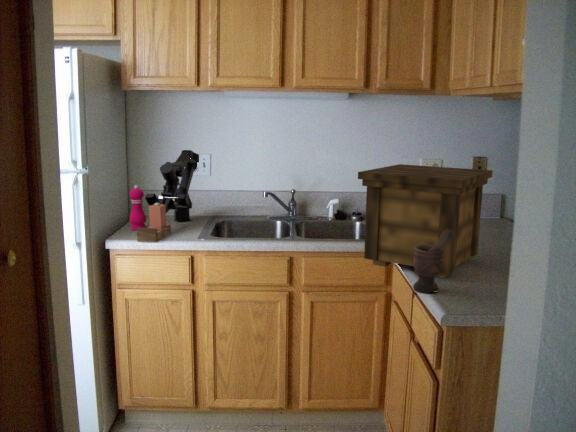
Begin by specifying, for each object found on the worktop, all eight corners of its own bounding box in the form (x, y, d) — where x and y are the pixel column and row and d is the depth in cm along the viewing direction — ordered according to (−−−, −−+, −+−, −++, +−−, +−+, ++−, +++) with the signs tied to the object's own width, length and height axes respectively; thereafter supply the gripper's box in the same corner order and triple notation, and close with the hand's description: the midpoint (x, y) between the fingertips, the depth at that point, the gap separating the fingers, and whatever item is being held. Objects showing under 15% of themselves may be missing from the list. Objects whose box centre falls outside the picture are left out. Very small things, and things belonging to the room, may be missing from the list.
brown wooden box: (153, 232, 229) (153, 219, 228) (171, 232, 228) (170, 220, 227) (137, 241, 213) (136, 228, 212) (156, 242, 212) (155, 229, 210)
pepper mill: (136, 231, 230) (134, 186, 226) (126, 229, 235) (124, 185, 231) (149, 228, 236) (147, 185, 232) (139, 226, 240) (137, 183, 236)
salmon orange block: (155, 226, 227) (154, 201, 225) (166, 227, 226) (165, 202, 224) (149, 229, 221) (148, 204, 219) (161, 230, 221) (160, 204, 219)
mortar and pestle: (454, 290, 157) (459, 225, 153) (447, 298, 149) (451, 231, 146) (416, 283, 162) (420, 221, 159) (407, 291, 155) (411, 226, 151)
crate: (454, 284, 162) (462, 180, 156) (354, 265, 182) (358, 172, 176) (485, 259, 190) (492, 170, 184) (395, 245, 210) (399, 164, 204)
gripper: (194, 198, 243) (187, 226, 234) (156, 197, 245) (148, 224, 236) (189, 183, 233) (181, 212, 225) (149, 182, 236) (140, 210, 227)
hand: (162, 215), depth 228 cm, fingers closed
